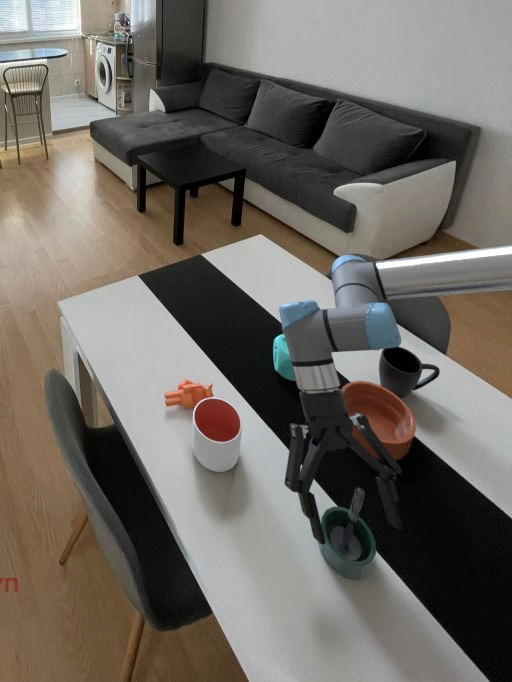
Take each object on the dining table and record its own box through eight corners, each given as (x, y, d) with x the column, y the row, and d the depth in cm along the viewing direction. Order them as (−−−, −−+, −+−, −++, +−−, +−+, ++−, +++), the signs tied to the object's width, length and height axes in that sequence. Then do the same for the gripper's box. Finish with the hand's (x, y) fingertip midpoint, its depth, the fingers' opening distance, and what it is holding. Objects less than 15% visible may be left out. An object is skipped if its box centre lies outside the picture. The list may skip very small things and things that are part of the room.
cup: (236, 482, 87) (239, 450, 83) (187, 465, 90) (188, 434, 86) (240, 435, 95) (243, 404, 92) (196, 422, 99) (197, 391, 95)
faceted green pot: (369, 537, 78) (374, 521, 76) (371, 593, 71) (376, 576, 69) (319, 513, 81) (322, 497, 79) (315, 564, 74) (319, 548, 73)
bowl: (406, 414, 98) (411, 395, 96) (412, 475, 87) (419, 456, 84) (336, 389, 105) (340, 372, 102) (334, 443, 93) (338, 424, 91)
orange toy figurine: (167, 396, 99) (217, 389, 100) (160, 377, 106) (206, 370, 107) (168, 417, 99) (218, 409, 100) (161, 396, 106) (208, 389, 108)
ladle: (359, 541, 77) (377, 482, 70) (359, 573, 73) (379, 514, 66) (328, 526, 79) (343, 467, 72) (327, 556, 75) (343, 497, 68)
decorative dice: (272, 353, 115) (275, 330, 112) (303, 357, 114) (307, 334, 111) (276, 378, 108) (279, 355, 105) (310, 383, 107) (314, 360, 103)
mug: (437, 411, 98) (448, 382, 95) (378, 398, 102) (386, 369, 98) (425, 381, 106) (434, 352, 102) (370, 370, 109) (378, 342, 106)
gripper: (369, 377, 84) (411, 511, 76) (247, 396, 81) (277, 536, 73) (395, 382, 77) (443, 530, 69) (263, 402, 74) (297, 558, 66)
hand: (358, 533), depth 71 cm, fingers open, 13 cm apart
